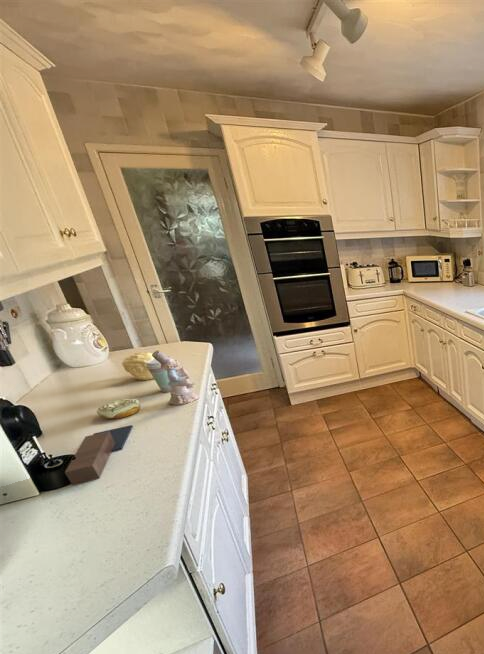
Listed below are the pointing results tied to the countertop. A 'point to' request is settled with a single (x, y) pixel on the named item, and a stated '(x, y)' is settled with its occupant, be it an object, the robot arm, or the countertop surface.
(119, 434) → the rubber mat
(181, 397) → the figurine
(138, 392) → the countertop surface
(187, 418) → the countertop surface
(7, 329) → the robot arm
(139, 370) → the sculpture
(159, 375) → the coffee cup
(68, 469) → the walnut block
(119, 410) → the decorated donut
